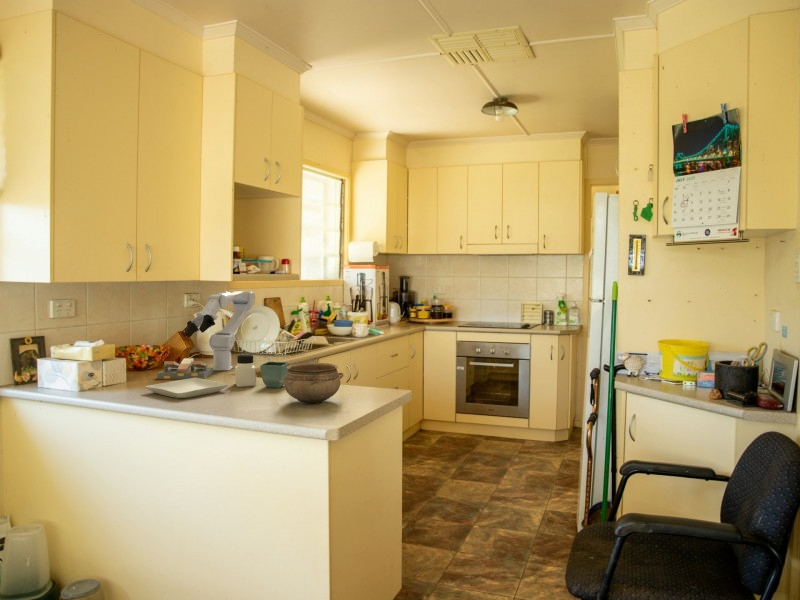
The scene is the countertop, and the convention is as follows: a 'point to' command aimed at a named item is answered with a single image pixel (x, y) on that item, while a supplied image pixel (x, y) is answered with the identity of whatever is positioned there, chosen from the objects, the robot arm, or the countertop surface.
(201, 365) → the right rocker
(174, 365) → the left rocker
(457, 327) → the countertop surface
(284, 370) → the flower pot
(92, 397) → the countertop surface
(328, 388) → the cooking pot
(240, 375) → the medicine bottle
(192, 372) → the switch unit
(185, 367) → the middle rocker
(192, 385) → the salad plate
